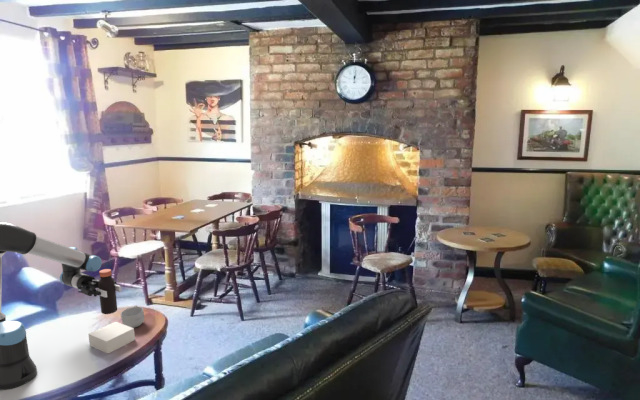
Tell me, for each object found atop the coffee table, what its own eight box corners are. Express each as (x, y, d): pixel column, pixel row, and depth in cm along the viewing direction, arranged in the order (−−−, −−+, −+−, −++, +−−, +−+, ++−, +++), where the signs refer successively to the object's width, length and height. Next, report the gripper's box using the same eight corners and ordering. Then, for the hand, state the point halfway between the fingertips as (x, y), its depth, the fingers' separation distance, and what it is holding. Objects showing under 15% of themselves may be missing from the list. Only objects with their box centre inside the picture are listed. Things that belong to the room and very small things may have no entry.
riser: (108, 353, 195) (106, 341, 193) (89, 345, 202) (88, 333, 201) (135, 339, 206) (133, 328, 205) (117, 332, 213) (115, 321, 212)
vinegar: (114, 306, 206) (110, 267, 202) (119, 311, 201) (115, 270, 197) (99, 311, 201) (94, 270, 197) (104, 316, 196) (100, 274, 193)
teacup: (139, 330, 215) (138, 315, 214) (118, 330, 216) (116, 315, 214) (150, 317, 229) (149, 303, 228) (130, 317, 229) (128, 303, 228)
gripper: (103, 282, 217) (132, 291, 205) (65, 296, 201) (94, 307, 189) (101, 268, 215) (131, 276, 204) (62, 281, 199) (92, 291, 188)
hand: (113, 291), depth 196 cm, fingers closed on vinegar, 6 cm apart
